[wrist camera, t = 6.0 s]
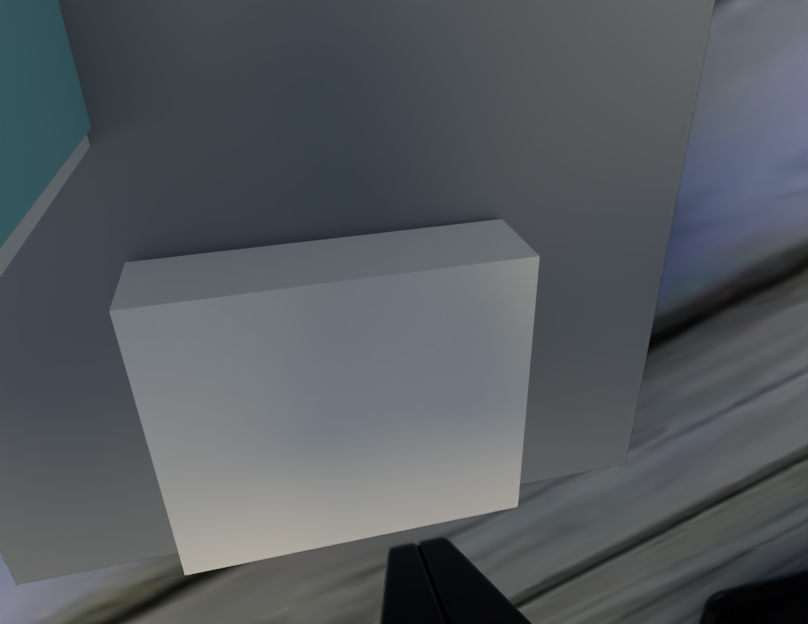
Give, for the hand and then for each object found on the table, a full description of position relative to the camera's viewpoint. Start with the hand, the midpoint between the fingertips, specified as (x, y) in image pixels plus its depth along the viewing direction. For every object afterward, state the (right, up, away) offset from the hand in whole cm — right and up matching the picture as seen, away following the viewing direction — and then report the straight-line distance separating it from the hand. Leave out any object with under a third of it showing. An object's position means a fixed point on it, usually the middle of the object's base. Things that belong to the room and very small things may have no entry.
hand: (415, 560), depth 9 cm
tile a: (-5, +1, +3) cm, 6 cm away
